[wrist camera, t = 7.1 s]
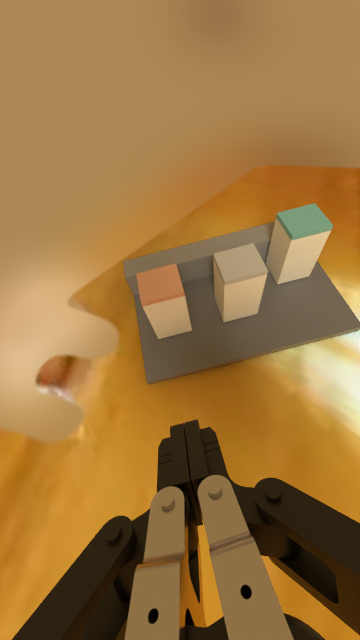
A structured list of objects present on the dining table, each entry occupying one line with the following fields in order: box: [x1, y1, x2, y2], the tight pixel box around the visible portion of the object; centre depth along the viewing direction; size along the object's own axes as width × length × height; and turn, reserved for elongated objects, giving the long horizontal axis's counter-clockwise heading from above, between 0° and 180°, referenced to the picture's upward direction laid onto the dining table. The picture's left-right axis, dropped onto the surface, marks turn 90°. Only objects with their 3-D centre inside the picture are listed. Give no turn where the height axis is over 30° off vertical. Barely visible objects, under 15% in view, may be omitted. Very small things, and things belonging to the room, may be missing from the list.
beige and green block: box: [266, 203, 333, 284], centre depth 31 cm, size 4×4×8 cm
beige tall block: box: [213, 243, 268, 323], centre depth 29 cm, size 4×4×8 cm
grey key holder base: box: [123, 222, 360, 384], centre depth 32 cm, size 26×16×5 cm, turn 102°
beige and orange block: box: [136, 263, 192, 339], centre depth 29 cm, size 4×4×8 cm
